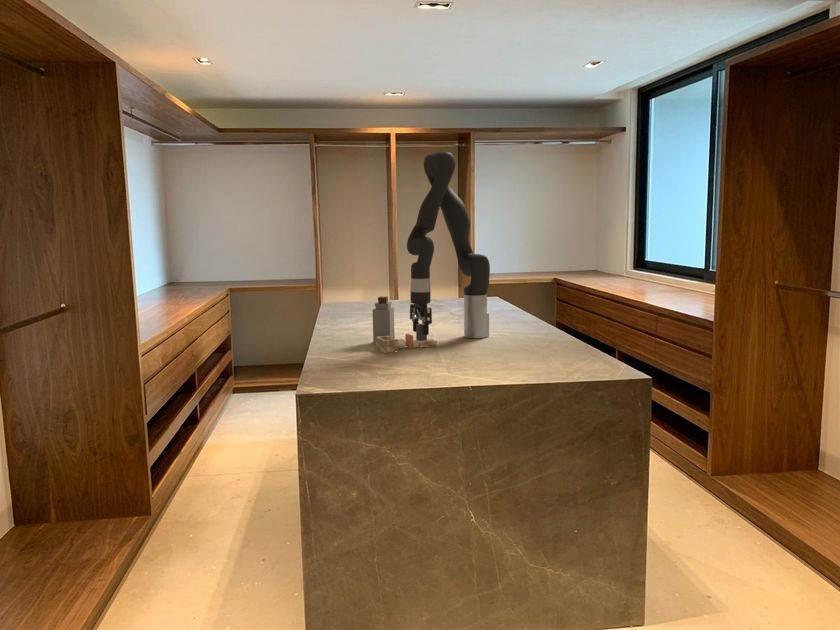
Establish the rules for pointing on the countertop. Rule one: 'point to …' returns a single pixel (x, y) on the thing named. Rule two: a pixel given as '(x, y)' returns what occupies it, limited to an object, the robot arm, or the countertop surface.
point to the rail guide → (428, 344)
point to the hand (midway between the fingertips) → (420, 333)
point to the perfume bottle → (383, 319)
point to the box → (386, 344)
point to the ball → (401, 343)
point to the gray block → (419, 337)
